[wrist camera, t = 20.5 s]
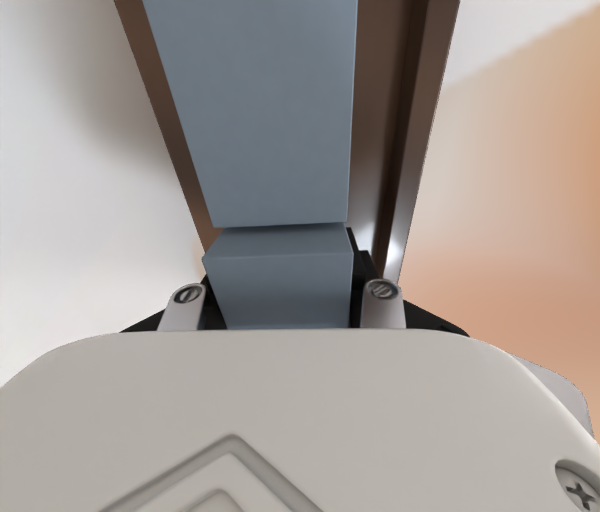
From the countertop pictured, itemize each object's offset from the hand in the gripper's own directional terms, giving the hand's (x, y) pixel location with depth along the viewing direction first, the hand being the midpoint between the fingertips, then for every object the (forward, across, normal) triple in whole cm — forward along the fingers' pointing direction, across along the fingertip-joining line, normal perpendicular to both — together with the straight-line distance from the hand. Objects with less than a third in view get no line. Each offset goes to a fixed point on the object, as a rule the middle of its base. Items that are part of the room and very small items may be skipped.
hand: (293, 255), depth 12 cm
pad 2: (0, 0, 0) cm, 0 cm away
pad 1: (+2, 0, -6) cm, 7 cm away
